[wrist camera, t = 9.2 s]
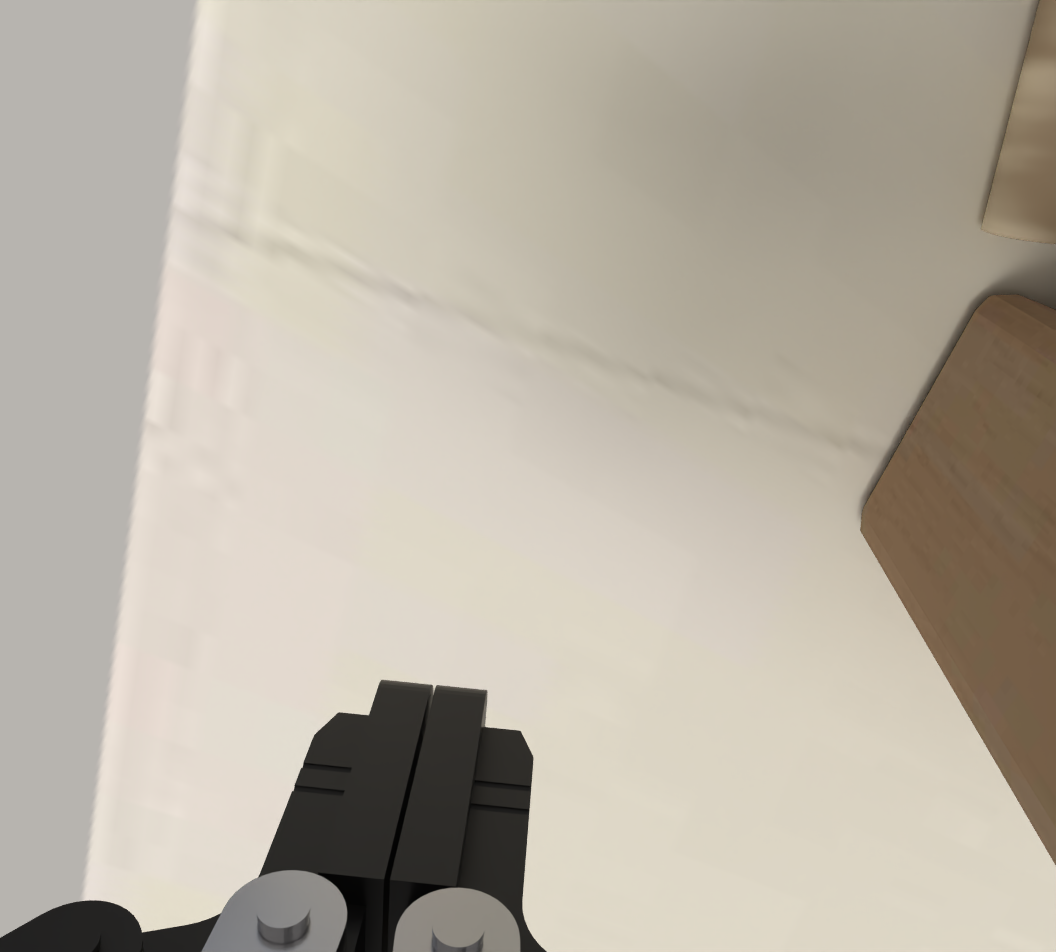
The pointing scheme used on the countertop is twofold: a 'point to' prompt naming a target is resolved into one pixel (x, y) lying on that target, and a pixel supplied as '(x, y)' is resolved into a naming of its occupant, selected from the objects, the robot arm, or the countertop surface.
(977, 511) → the wooden block
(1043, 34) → the roller
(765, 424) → the countertop surface
